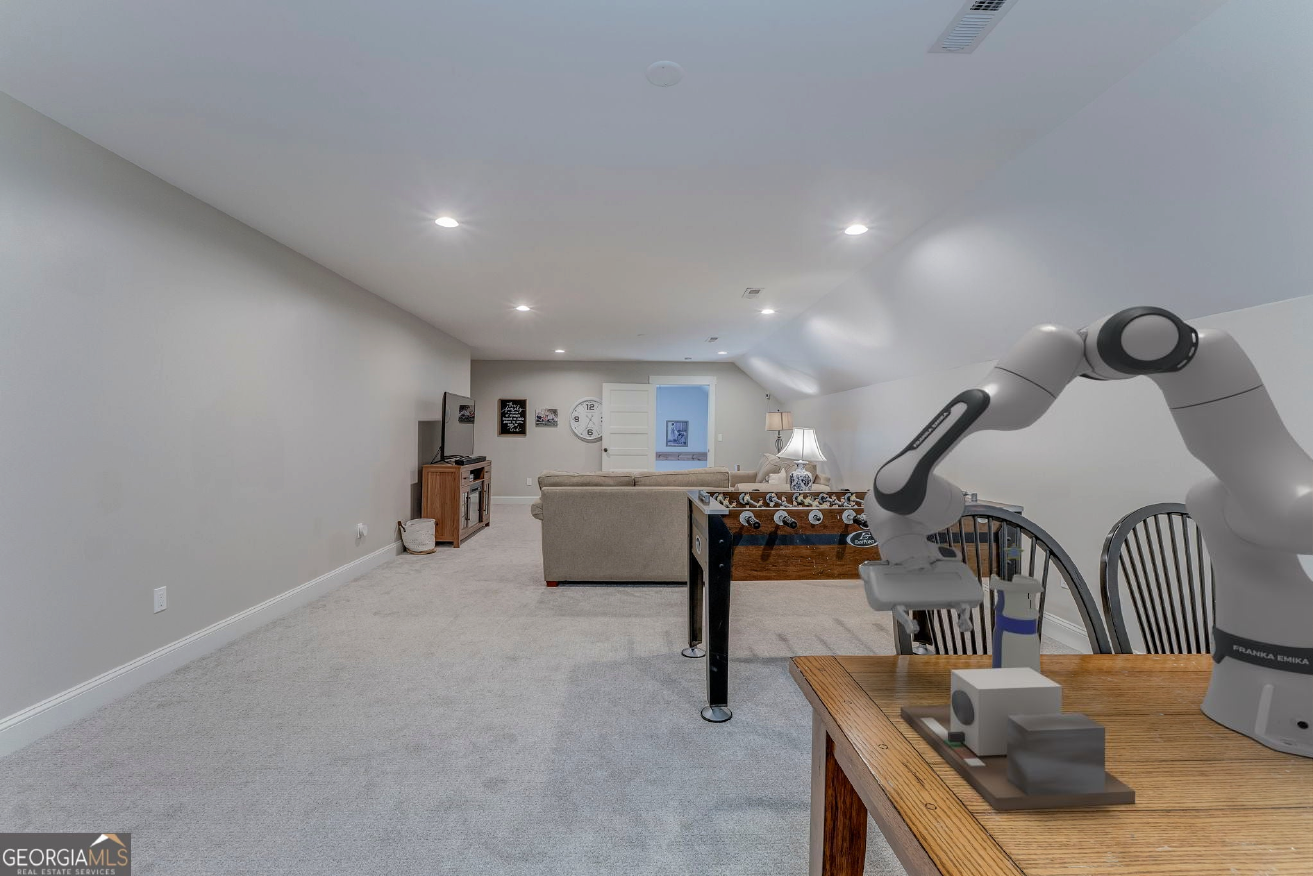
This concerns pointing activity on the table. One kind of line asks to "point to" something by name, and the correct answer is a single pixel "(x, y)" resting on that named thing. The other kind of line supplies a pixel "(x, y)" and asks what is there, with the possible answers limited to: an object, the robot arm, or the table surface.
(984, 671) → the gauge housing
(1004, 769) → the gauge stand
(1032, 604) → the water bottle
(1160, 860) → the table surface
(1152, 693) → the table surface
